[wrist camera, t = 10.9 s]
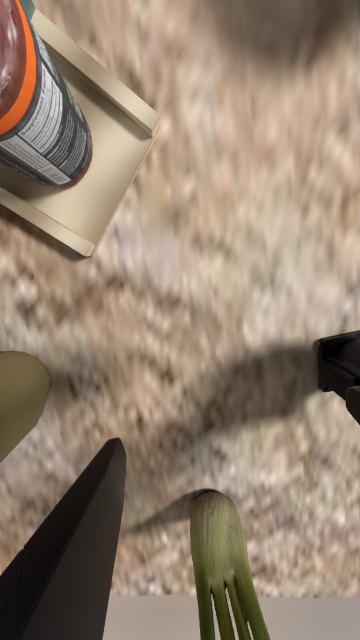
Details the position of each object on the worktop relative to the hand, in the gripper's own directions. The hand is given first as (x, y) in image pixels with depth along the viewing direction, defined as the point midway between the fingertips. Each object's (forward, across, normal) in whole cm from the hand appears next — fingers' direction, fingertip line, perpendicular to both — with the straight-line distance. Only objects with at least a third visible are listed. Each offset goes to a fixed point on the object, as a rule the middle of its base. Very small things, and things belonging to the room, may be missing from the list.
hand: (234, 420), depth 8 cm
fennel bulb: (+13, +2, +25) cm, 28 cm away
